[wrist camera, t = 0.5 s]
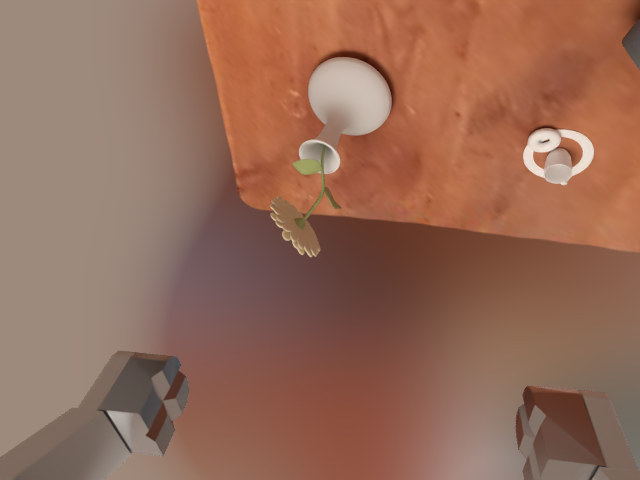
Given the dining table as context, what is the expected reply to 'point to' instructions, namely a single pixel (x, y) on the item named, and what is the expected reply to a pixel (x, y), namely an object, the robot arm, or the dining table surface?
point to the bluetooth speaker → (633, 43)
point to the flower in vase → (333, 133)
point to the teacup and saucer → (557, 154)
